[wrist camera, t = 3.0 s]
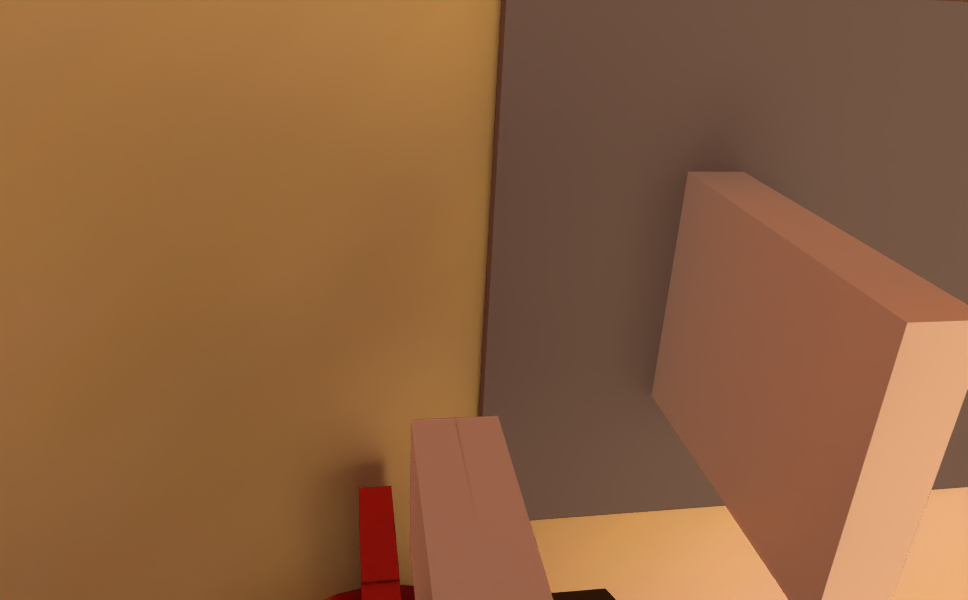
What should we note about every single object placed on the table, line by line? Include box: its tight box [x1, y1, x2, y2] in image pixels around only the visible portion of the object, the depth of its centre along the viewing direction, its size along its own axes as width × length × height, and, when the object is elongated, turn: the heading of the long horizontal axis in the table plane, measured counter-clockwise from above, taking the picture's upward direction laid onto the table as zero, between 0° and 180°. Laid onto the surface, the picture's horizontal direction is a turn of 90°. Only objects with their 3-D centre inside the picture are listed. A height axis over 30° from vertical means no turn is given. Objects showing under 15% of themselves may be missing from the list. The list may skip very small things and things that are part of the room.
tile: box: [652, 172, 968, 600], centre depth 18 cm, size 2×7×9 cm, turn 177°
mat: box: [479, 0, 968, 520], centre depth 23 cm, size 20×16×1 cm
